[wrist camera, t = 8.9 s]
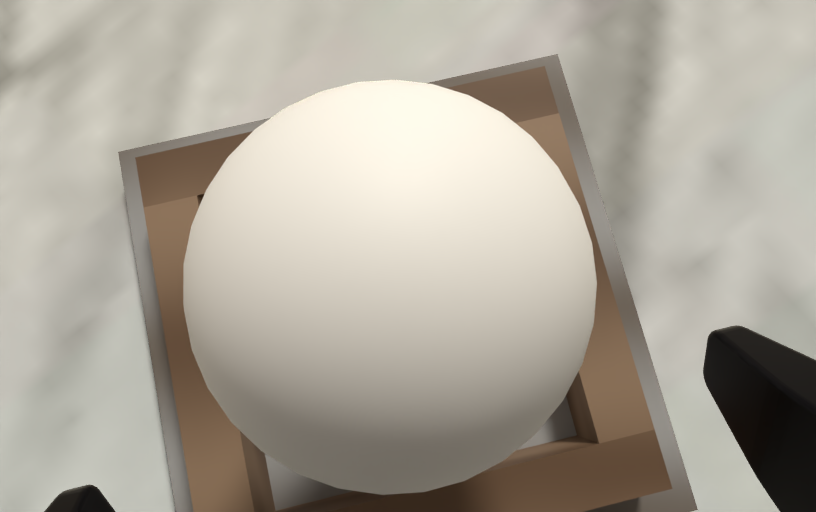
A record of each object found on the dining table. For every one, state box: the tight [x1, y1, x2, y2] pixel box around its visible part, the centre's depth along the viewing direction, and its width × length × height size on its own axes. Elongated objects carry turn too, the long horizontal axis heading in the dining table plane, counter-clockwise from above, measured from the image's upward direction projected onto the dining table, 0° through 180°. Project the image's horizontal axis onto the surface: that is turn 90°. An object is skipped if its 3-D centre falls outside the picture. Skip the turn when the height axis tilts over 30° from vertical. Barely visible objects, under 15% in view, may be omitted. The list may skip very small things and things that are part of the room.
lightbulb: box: [183, 80, 597, 495], centre depth 12 cm, size 6×6×11 cm
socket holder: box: [118, 54, 698, 512], centre depth 17 cm, size 14×14×3 cm
